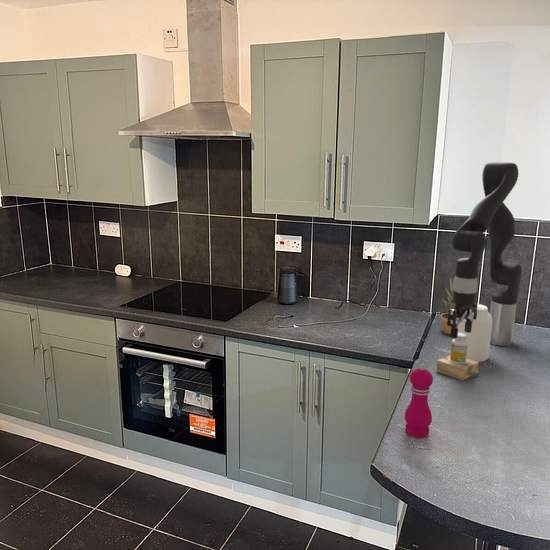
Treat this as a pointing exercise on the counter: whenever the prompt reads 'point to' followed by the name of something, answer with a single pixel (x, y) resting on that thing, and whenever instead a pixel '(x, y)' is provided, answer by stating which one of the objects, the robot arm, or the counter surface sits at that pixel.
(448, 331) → the potted plant
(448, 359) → the pedestal
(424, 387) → the pepper mill
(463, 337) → the supplement bottle
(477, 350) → the white jar
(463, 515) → the counter surface
